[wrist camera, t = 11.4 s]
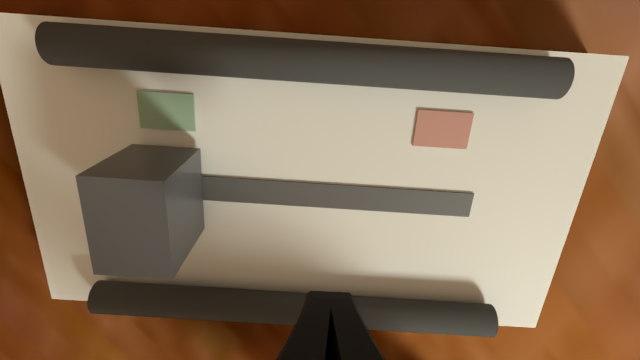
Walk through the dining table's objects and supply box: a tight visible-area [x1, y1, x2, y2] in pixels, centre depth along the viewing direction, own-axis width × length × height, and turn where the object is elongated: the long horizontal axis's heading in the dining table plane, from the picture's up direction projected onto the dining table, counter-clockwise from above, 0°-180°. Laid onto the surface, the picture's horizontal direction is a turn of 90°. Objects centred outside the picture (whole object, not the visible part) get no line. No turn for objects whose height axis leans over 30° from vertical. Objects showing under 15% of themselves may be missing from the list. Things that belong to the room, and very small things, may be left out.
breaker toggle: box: [75, 144, 205, 279], centre depth 15 cm, size 4×3×4 cm
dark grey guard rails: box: [35, 21, 575, 337], centre depth 17 cm, size 14×20×2 cm
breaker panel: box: [0, 13, 629, 328], centre depth 19 cm, size 14×26×3 cm, turn 86°
